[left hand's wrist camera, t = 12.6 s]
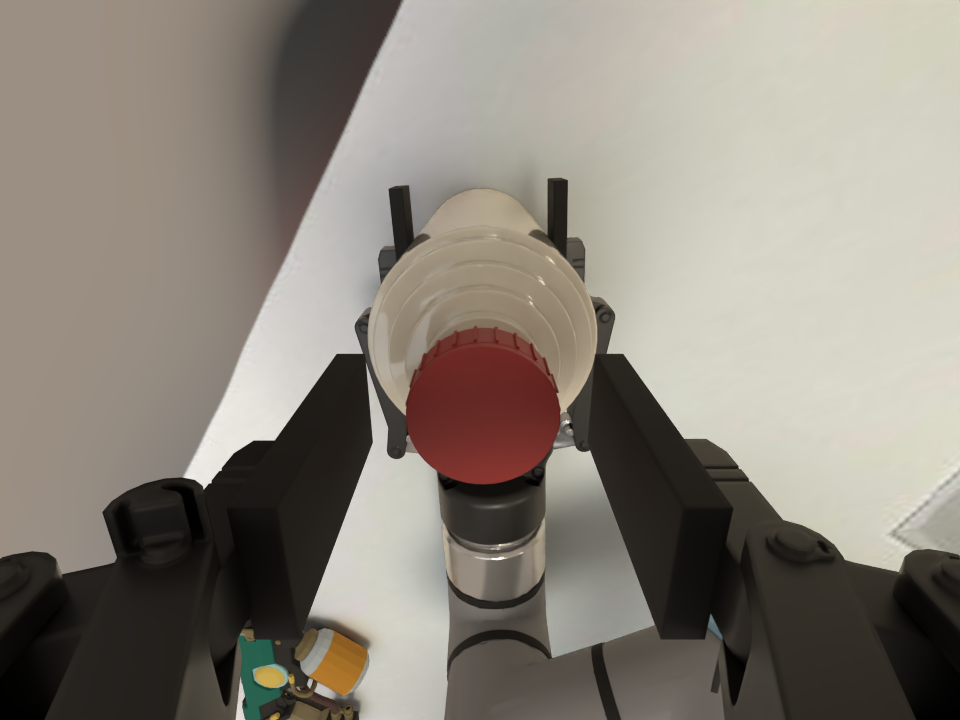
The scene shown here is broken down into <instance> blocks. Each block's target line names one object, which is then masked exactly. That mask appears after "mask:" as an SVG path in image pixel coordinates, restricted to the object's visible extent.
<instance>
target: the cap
mask: <svg viewBox="0 0 960 720" xmlns="http://www.w3.org/2000/svg"><path fill="white" fill-rule="evenodd" d="M409 388H410V390H409V394H408V397H407V400H406V403H405V406H406V424H407V430H408V433H409V436H410V439H411V441H412V443H413V445H414V447H415V449H416V450H417V452H418V453H419V454H420V456H421V457H422V458H423V459H424V460H425V461H426V462H427V463H428V464H429V465H430V466H431V467H433V468H434V469H435V470H437V471H438V472H440V473H442V474H444V475H446V476H447V477H450V478H452V479H455V480H458V481H462V482H466V483H472V484H495V483H500V482H505V481H508V480H511V479H514V478H516V477H518V476H521V475H523V474H524V473H526V472H528V471H529V470H531V469H532V468H533V467H535V466H536V465H537V464H538V463H539V462H540V461H541V460H542V459H543V458H544V457H545V456H546V455H547V453H548V452H549V451H550V449H551V447H552V445H553V444H554V442H555V439H556V437H557V434H558V430H559V426H560V418H561V416H560V412H561V408H560V404H559V399H558V396H557V393H559V391H558V388H557V385H556V382H555V379H554V376H553V374H551V373H550V370H549V367H548V363H547V360H546V358H545V357H544V358H542V356H541V355H540V354H539V352H538V351H537V350H536V349H535V347H534V344H533V343H531V344H529V343H528V342H527V341H525V340H523V339H522V338H520V337H519V336H518V335H517V333H515V332H514V334H512V333H510V332H506V331H503V330H499V329H498V327H495V328H494V329H493V328H477V326H474V328H473V329H467V330H463V331H460V332H457V330H456V331H454V334H452V335H450V336H448V337H446V338H444V339H443V340H441V341H440V340H439V339H438V340H437V341H436V345H435V346H433V347H432V348H431V349H430V350H429V351H428V353H427V354H426V353H424V354H423V356H422V360H421V362H420V364H419V366H418V369H415V370H414V373H413V376H412V379H411V382H410V386H409Z"/></svg>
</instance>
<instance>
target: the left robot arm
mask: <svg viewBox="0 0 960 720" xmlns="http://www.w3.org/2000/svg"><path fill="white" fill-rule="evenodd" d="M372 443H373V440H372V428H371V417H370V405H369V394H368V382H367V371H366V359H365V354H337V355H336V356H335V357H334V359H333V360H332V362H331V363H330V364H329V366H328V367H327V368H326V370H325V371H324V373H323V374H322V375H321V377H320V378H319V380H318V381H317V382H316V384H315V385H314V387H313V388H312V389H311V391H310V392H309V394H308V395H307V396H306V398H305V399H304V401H303V402H302V403H301V405H300V406H299V408H298V409H297V410H296V412H295V413H294V415H293V416H292V417H291V419H290V420H289V422H288V423H287V424H286V426H285V427H284V429H283V430H282V431H281V433H280V434H279V435H278V437H277V438H276V440H275V441H253V442H251V443H249V444H248V445H246V446H245V447H243V448H242V449H240V450H238V451H237V452H235V453H234V454H233V455H232V456H231V458H230V459H229V460H228V461H227V462H226V464H225V465H224V466H223V467H222V471H219V472H218V473H217V475H216V476H215V477H214V478H213V479H212V483H211V484H208V486H207V487H206V488H205V489H204V490H203V486H202V485H201V484H199V483H198V482H197V481H195V480H192V479H187V478H166V479H161V480H157V481H153V482H149V483H145V484H143V485H140V486H138V487H136V488H133V489H131V490H129V491H127V492H125V493H123V494H122V495H120V496H119V497H117V498H116V499H114V500H113V501H112V502H111V503H110V504H109V505H108V506H107V507H106V509H105V510H104V511H103V516H104V519H105V522H106V525H107V528H108V531H109V534H110V537H111V540H112V543H113V546H114V550H115V553H116V556H117V559H116V561H115V563H111V564H108V565H104V566H99V567H94V568H89V569H85V570H80V571H76V572H71V573H66V574H61V571H60V568H59V566H58V563H57V560H56V559H55V558H54V557H53V556H51V555H50V554H48V553H44V552H33V551H32V552H26V553H19V554H14V555H10V556H6V557H2V558H1V559H0V720H236V711H237V701H238V692H239V683H240V674H241V665H242V656H241V649H240V644H239V640H238V638H239V636H240V634H241V632H242V630H243V628H244V626H245V624H246V622H247V620H248V618H249V616H250V619H251V624H252V628H253V633H254V637H255V640H299V639H300V636H301V634H302V631H303V628H304V625H305V623H306V620H307V617H308V615H309V612H310V609H311V607H312V604H313V601H314V599H315V596H316V593H317V591H318V588H319V585H320V583H321V580H322V577H323V574H324V572H325V569H326V566H327V564H328V561H329V558H330V556H331V553H332V550H333V548H334V545H335V542H336V540H337V537H338V534H339V532H340V529H341V526H342V523H343V521H344V518H345V515H346V513H347V510H348V507H349V505H350V502H351V499H352V497H353V494H354V491H355V489H356V486H357V483H358V480H359V478H360V475H361V472H362V470H363V467H364V464H365V462H366V459H367V456H368V454H369V451H370V448H371V446H372ZM587 443H588V446H589V448H590V451H591V454H592V456H593V459H594V462H595V464H596V467H597V470H598V472H599V475H600V478H601V481H602V483H603V486H604V489H605V491H606V494H607V497H608V499H609V502H610V505H611V507H612V510H613V513H614V515H615V518H616V521H617V523H618V526H619V529H620V532H621V534H622V537H623V540H624V542H625V545H626V548H627V550H628V553H629V556H630V558H631V561H632V564H633V566H634V569H635V572H636V575H637V577H638V580H639V583H640V585H641V588H642V591H643V593H644V596H645V599H646V601H647V604H648V607H649V609H650V612H651V615H652V617H653V620H654V623H655V626H656V628H657V631H658V634H659V636H660V639H661V640H705V637H706V633H707V628H708V624H709V619H710V614H711V615H712V617H713V619H714V621H715V623H716V625H717V627H718V629H719V631H720V633H721V635H722V640H721V644H720V649H719V653H718V657H717V662H716V666H715V670H714V674H713V679H712V684H711V691H710V692H713V693H717V694H718V690H719V686H720V682H721V691H722V700H723V709H724V718H725V720H960V556H959V555H957V554H953V553H949V552H943V551H937V550H931V549H925V550H914V551H912V552H911V553H909V554H908V555H906V556H905V558H904V560H903V563H902V566H901V568H900V571H899V572H895V571H891V570H886V569H881V568H877V567H872V566H867V565H863V564H858V563H853V562H850V561H846V560H844V558H843V556H842V555H841V553H840V552H839V551H838V549H837V548H836V547H835V545H834V544H832V543H831V542H830V541H829V540H827V539H826V538H825V537H823V536H822V535H821V534H819V533H817V532H815V531H813V530H811V529H809V528H807V527H805V526H802V525H799V524H795V523H792V522H788V521H785V520H783V519H782V518H781V517H780V516H779V515H778V513H777V512H776V511H775V510H774V509H773V507H772V506H771V505H770V504H769V503H768V501H767V500H766V499H765V498H764V496H763V495H762V494H761V493H760V492H759V490H758V489H757V488H756V487H755V486H754V484H753V483H752V482H749V478H748V477H747V476H746V475H745V474H744V472H743V471H742V470H741V469H739V468H738V467H739V466H738V465H737V464H736V463H735V461H734V460H733V459H732V458H731V457H730V455H729V454H728V453H727V452H726V451H725V450H723V449H721V448H720V447H718V446H717V445H715V444H713V443H712V442H710V441H709V440H707V439H684V438H683V437H682V436H681V434H680V433H679V431H678V430H677V429H676V427H675V426H674V424H673V423H672V422H671V420H670V419H669V417H668V416H667V415H666V413H665V412H664V410H663V409H662V408H661V406H660V405H659V403H658V402H657V401H656V399H655V398H654V396H653V395H652V394H651V392H650V391H649V389H648V388H647V387H646V385H645V384H644V382H643V381H642V380H641V378H640V377H639V375H638V374H637V373H636V371H635V370H634V369H633V367H632V366H631V364H630V363H629V362H628V360H627V359H626V357H625V356H624V355H623V354H595V359H594V370H593V382H592V393H591V405H590V416H589V428H588V439H587Z"/></svg>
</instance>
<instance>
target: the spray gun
mask: <svg viewBox="0 0 960 720" xmlns="http://www.w3.org/2000/svg"><path fill="white" fill-rule="evenodd" d="M238 640H239V644H240V649H241V656H242V665H241V674H240V677H241V681H242V684H243V688H244V693H245V698H244V700H243V702H242V703H243V705H242V707H243V712H244V716H245V720H359V714H358V711H353V708H352V706H351V705H346V706H345V708H344V709H341V707H340V705H339V704H337V703H336V702H335V701H333V700H332V699H329V698H327V697H324V696H322V695H319V694H317V693H315V692H314V690H315V688H316V686H317V682H319V683H321V684H323V685H325V686H326V687H328V688H330V689H332V690H333V691H335V692H337V693H339V694H340V695H342V696H345V695H347V694H349V693H351V692H352V691H354V690H355V689H356V688H357V687H358V686H359V684H360V683H361V681H362V680H363V678H364V676H365V674H366V671H367V669H368V667H369V655H368V650H367V649H366V648H364V647H362V646H360V645H359V644H357V643H355V642H353V641H351V640H350V639H348V638H346V637H344V636H343V635H341V634H339V633H337V632H335V631H334V630H330V629H326V628H323V629H321V630H318V631H317V630H316V629H314V628H311V629H310V630H308V631H307V632H306V633H302V634H301V636H300V639H299V640H255V637H254V633H253V628H252V624H251V619H250V616H249V618H248V620H247V622H246V624H245V626H244V628H243V630H242V632H241V634H240V636H239V638H238ZM309 678H311V679H313V683H312V686H311V688H310V689H309V687H308V686H307V682H308V680H309ZM296 686H298V687H299V688H300V690H301V691H300V690H298V689H297V688H296ZM288 688H291V690H292V692H293V694H294V695H296V696H298V697H301V698H309V699H310V700H312V701H314V702H316V703H318V704H321V705H324V706H327V707H329V708H327V709H325V710H323V711H321V710H318V709H316V708H314V707H312V706H309V705H307V704H305V703H303V702H300V701H296V700H297V697H296V696H292V697H291V696H288V695H287V693H284V692H283V690H285V689H288Z"/></svg>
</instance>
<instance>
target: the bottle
mask: <svg viewBox="0 0 960 720" xmlns="http://www.w3.org/2000/svg"><path fill="white" fill-rule="evenodd" d="M474 326H477V328H493V329H494V328H495V327H498V329H499V330H503V331H506V332H510V333H512V334H514V332H515V333H517V335H518V336H519V337H520V338H522V339H523V340H525V341H527V342H528V343H529V344H531V343H533V344H534V347H535V349H536V350H537V351H538V352H539V354H540V355H541V356H542V358H544V357H545V358H546V360H547V363H548V367H549V370H550V373H551V374H553V376H554V379H555V382H556V385H557V388H558V391H559V393H557V396H558V399H559V404H560V408H561V412H560V415H561V414H562V413H563V412H564V411H565V410H566V409H567V407H568V406H569V405H570V404H571V403H572V402H573V401H574V399H575V398H576V397H577V395H578V394H579V393H580V391H581V389H582V388H583V386H584V384H585V383H586V381H587V378H588V376H589V374H590V371H591V369H592V366H593V362H594V358H595V354H596V347H597V322H596V315H595V310H594V307H593V304H592V300H591V297H590V295H589V293H588V291H587V289H586V286H585V284H584V283H583V281H582V280H581V278H580V277H579V275H578V274H577V272H576V271H575V270H574V268H573V267H572V266H571V265H570V263H569V262H568V261H567V260H566V258H565V257H564V256H563V255H562V253H561V252H560V251H559V250H558V248H557V247H556V246H555V245H554V244H553V242H552V241H551V240H550V239H549V237H548V236H547V235H546V234H545V232H544V231H543V230H542V229H541V227H540V226H539V225H538V224H537V223H536V221H535V220H534V219H533V218H532V216H531V215H530V214H529V213H528V211H527V210H526V209H525V208H524V207H523V206H522V205H521V204H520V203H519V202H518V201H517V200H515V199H514V198H512V197H511V196H509V195H507V194H505V193H503V192H500V191H497V190H492V189H471V190H467V191H464V192H461V193H459V194H456V195H455V196H453V197H451V198H450V199H448V200H447V201H446V202H444V203H443V204H442V205H441V206H440V207H439V208H438V210H437V211H436V212H435V214H434V215H433V216H432V217H431V219H430V220H429V221H428V223H427V224H426V225H425V226H424V228H423V229H422V230H421V232H420V233H419V234H418V235H417V237H416V238H415V239H414V241H413V242H412V243H411V244H410V246H409V247H408V248H407V250H406V251H405V252H404V253H403V255H402V256H401V257H400V259H399V260H398V261H397V262H396V264H395V265H394V266H393V268H392V269H391V270H390V271H389V273H388V274H387V275H386V277H385V278H384V280H383V282H382V284H381V285H380V287H379V289H378V291H377V293H376V296H375V298H374V301H373V303H372V308H371V312H370V316H369V323H368V347H369V353H370V359H371V362H372V365H373V368H374V371H375V374H376V376H377V378H378V380H379V382H380V385H381V386H382V388H383V389H384V391H385V392H386V394H387V396H388V397H389V398H390V400H391V401H392V402H393V403H394V404H395V405H396V407H397V408H398V409H399V410H400V411H401V412H402V413H403V414H404V415H405V416H406V406H405V403H406V400H407V397H408V394H409V390H410V388H409V386H410V382H411V379H412V376H413V373H414V370H415V369H418V366H419V364H420V362H421V360H422V356H423V354H424V353H426V354H427V353H428V351H429V350H430V349H431V348H432V347H433V346H435V345H436V341H437V340H438V339H439V340H440V341H441V340H443V339H444V338H446V337H448V336H450V335H452V334H454V331H456V330H457V332H460V331H463V330H467V329H473V328H474Z"/></svg>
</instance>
